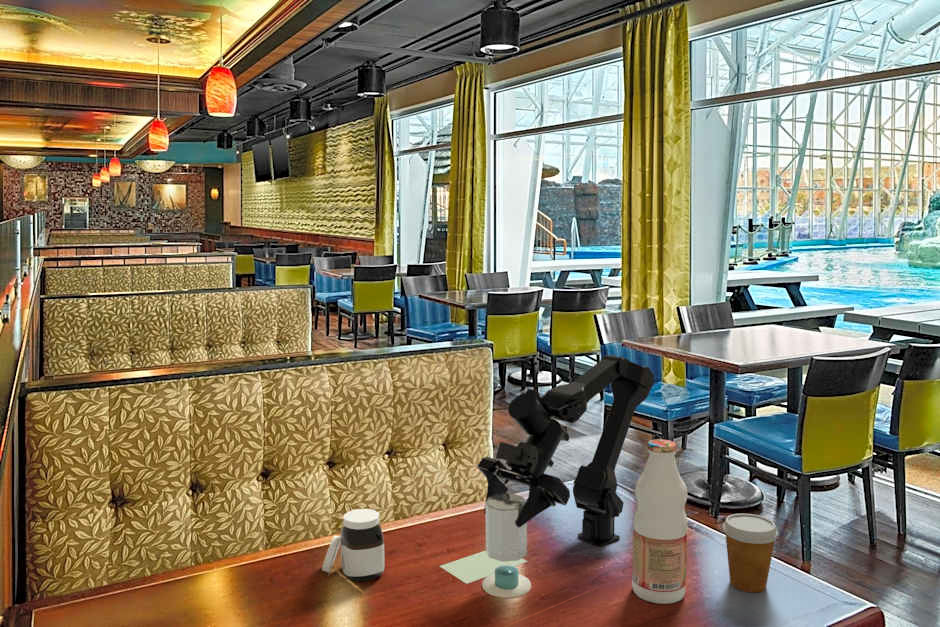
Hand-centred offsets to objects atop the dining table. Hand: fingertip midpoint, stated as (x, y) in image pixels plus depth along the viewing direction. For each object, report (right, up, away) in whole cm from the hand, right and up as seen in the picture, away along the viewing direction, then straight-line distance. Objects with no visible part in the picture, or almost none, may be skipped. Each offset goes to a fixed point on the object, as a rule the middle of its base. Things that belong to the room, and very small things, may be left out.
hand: (501, 520), depth 137 cm
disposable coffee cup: (+46, -13, +3) cm, 48 cm away
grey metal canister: (+1, -6, +2) cm, 7 cm away
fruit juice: (+29, -13, 0) cm, 31 cm away
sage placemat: (-3, -12, +11) cm, 17 cm away
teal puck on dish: (+1, -13, +3) cm, 13 cm away
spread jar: (-28, -13, +9) cm, 32 cm away
